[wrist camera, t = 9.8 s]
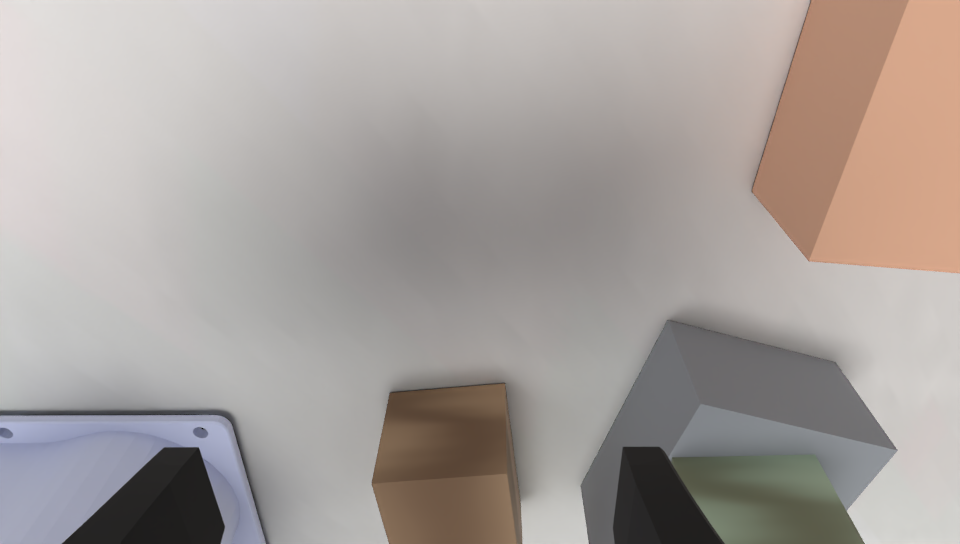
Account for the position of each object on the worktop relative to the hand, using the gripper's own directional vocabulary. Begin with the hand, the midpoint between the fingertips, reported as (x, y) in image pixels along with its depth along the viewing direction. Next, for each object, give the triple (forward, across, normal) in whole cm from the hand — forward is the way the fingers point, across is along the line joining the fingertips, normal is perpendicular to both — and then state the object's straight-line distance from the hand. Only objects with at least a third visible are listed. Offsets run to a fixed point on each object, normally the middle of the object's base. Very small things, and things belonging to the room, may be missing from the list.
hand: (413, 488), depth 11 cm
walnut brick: (+10, 0, +9) cm, 13 cm away
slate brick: (+10, -9, +8) cm, 15 cm away
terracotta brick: (+10, -11, -4) cm, 15 cm away
